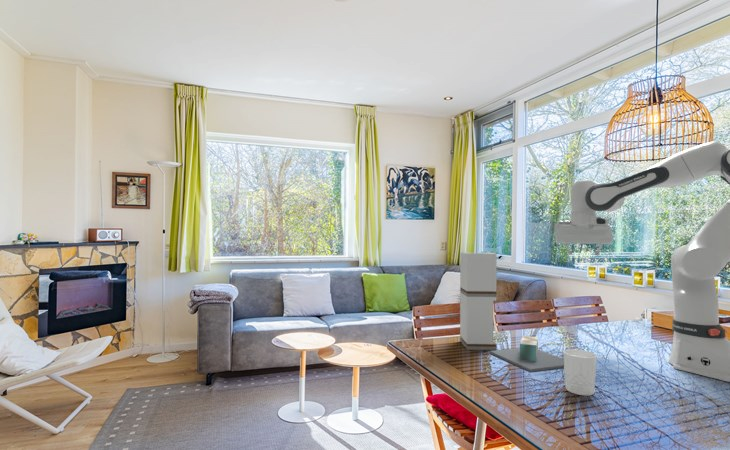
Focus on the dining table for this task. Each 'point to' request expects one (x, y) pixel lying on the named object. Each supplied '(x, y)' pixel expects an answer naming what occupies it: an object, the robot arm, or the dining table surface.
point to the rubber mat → (542, 363)
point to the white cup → (580, 371)
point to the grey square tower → (477, 300)
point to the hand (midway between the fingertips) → (583, 255)
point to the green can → (529, 348)
